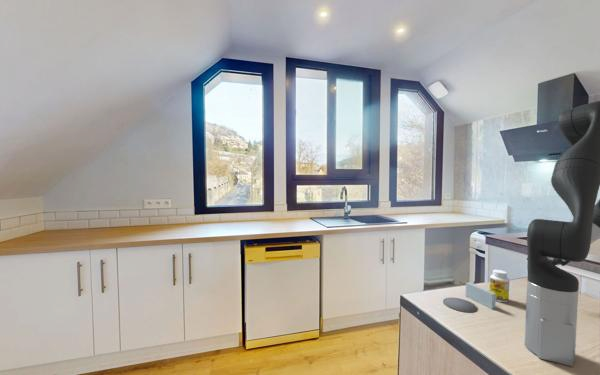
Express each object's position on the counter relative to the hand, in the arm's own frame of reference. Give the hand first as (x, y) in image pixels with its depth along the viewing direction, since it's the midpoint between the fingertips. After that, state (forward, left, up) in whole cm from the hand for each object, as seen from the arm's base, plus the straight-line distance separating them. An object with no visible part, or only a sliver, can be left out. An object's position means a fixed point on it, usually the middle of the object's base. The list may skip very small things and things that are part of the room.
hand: (535, 265), depth 92 cm
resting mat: (-14, +23, -14) cm, 30 cm away
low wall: (-8, +17, -14) cm, 23 cm away
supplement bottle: (-2, +10, -14) cm, 17 cm away
